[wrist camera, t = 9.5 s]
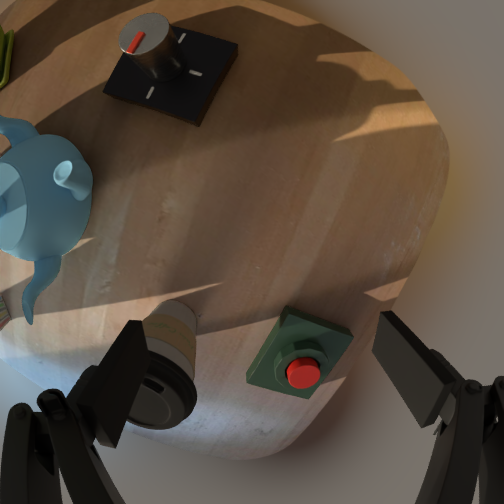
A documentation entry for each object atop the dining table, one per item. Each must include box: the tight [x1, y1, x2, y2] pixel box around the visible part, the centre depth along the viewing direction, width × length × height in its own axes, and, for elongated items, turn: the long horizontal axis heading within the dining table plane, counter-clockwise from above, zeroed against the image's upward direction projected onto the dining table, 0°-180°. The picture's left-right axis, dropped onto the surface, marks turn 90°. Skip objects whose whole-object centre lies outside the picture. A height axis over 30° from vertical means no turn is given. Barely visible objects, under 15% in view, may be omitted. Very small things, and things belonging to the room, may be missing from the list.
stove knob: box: [119, 13, 186, 82], centre depth 19 cm, size 4×4×8 cm
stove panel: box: [103, 26, 238, 127], centre depth 25 cm, size 12×10×3 cm
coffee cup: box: [126, 300, 197, 430], centre depth 27 cm, size 9×9×15 cm
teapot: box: [0, 115, 93, 325], centre depth 23 cm, size 17×19×12 cm
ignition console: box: [246, 306, 354, 399], centre depth 34 cm, size 10×12×4 cm
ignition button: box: [287, 357, 320, 389], centre depth 32 cm, size 4×4×2 cm
